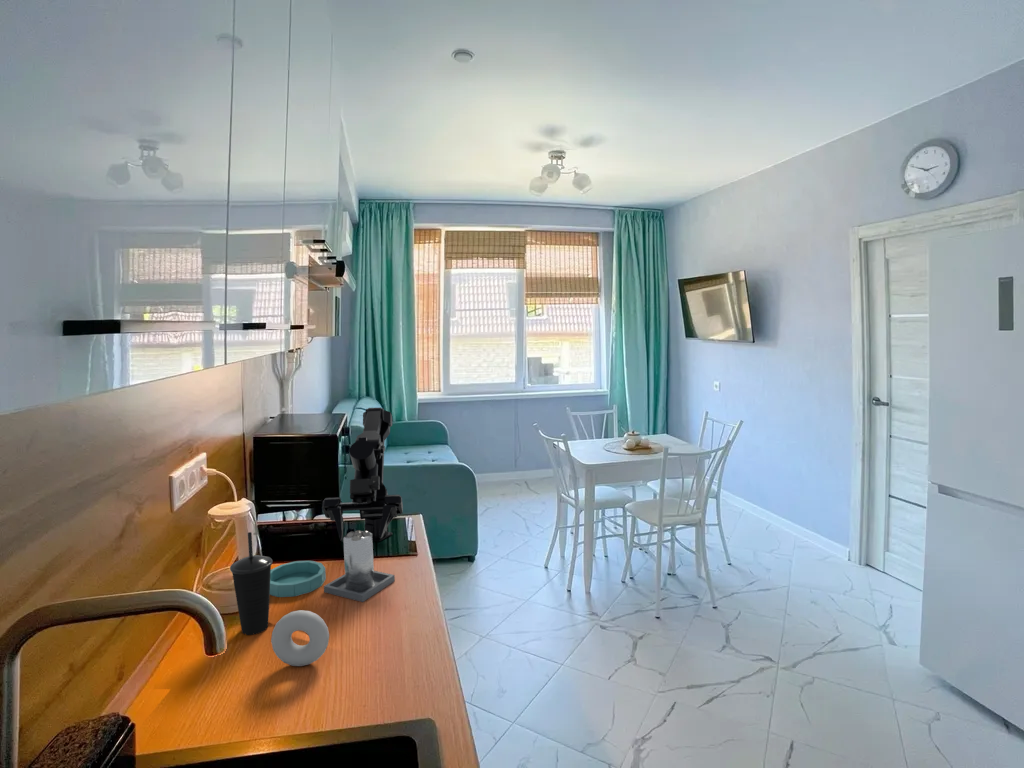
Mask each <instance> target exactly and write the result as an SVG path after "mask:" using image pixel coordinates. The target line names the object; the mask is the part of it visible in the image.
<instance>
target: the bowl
mask: <svg viewBox="0 0 1024 768" xmlns="http://www.w3.org/2000/svg"><path fill="white" fill-rule="evenodd" d="M326 574H327V573H326V567H325V566H324V564H323V563H322V562H318V561H314V560H296V561H290V562H287V563H283V564H280V565H278V566H276V567H274V568H271V574H270V596H272V597H276V598H288V597H289V598H291V597H298V596H300V595H305V594H309V593H311V592H313V591H315V590H317V589H319V588H320V587H322V586H323V585H324V583H325V581H326V579H327V575H326Z"/></svg>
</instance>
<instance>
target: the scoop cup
mask: <svg viewBox="0 0 1024 768" xmlns="http://www.w3.org/2000/svg"><path fill="white" fill-rule="evenodd" d="M342 541H343V556H344V557H343V559H344V560H343V562H344V574H345V584H346V590H350V591H354V592H358V593H360V592H365V591H367V590H368V589H370V588H371V587H373V586H374V571H375V569H374V566H375V565H374V564H375V563H374V550H373V549H374V543H373V542H374V541H373V539H372V533H371V532H369V531H365V530H360V529H358V530H355V531H352V530H351V531H350V532H348V533H346V534H345V535H343V538H342Z"/></svg>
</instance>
